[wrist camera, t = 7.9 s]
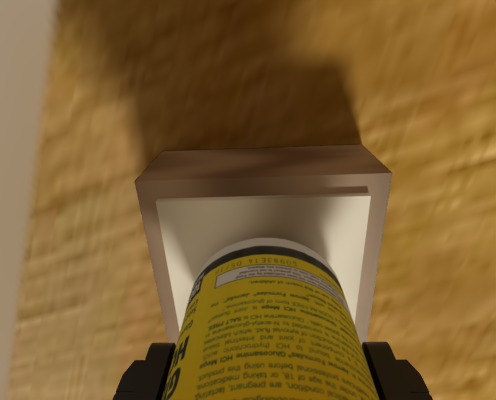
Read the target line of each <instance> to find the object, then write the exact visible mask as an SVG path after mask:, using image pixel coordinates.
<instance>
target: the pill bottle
mask: <svg viewBox="0 0 496 400" xmlns="http://www.w3.org/2000/svg"><path fill="white" fill-rule="evenodd" d="M161 400H379V397H378V394H377V391H376V388H375V385H374V382H373V379H372V377H371V374H370V371H369V368H368V364H367V361H366V358H365V355H364V352H363V349H362V346H361V343H360V340H359V337H358V334H357V331H356V328H355V325H354V322H353V319H352V316H351V313H350V310H349V307H348V304H347V301H346V299H345V296H344V293H343V290H342V287H341V285H340V282H339V280H338V277H337V276H336V274H335V272H334V270H333V269H332V267H331V266H330V265H329V264H328V263H327V261H326V260H325V259H324V258H322V257H321V256H320V255H319V254H318V253H316V252H315V251H313V250H311V249H310V248H308V247H306V246H304V245H301V244H299V243H296V242H293V241H289V240H285V239H279V238H254V239H248V240H243V241H240V242H237V243H234V244H232V245H229V246H227V247H225V248H223V249H221V250H220V251H219V252H217V253H216V254H214V255H213V256H212V257H211V258H210V259H209V260H208V261H207V262H206V263H205V265H204V266H203V267H202V268H201V270H200V272H199V273H198V275H197V277H196V280H195V282H194V285H193V288H192V291H191V294H190V297H189V300H188V304H187V308H186V311H185V316H184V320H183V323H182V327H181V331H180V334H179V338H178V342H177V345H176V349H175V353H174V356H173V359H172V363H171V366H170V369H169V373H168V377H167V381H166V385H165V389H164V392H163V396H162V399H161Z"/></svg>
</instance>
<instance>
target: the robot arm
mask: <svg viewBox="0 0 496 400" xmlns="http://www.w3.org/2000/svg"><path fill="white" fill-rule="evenodd" d="M175 349H176V344H175V343H152V344H151V346H150V348H149V350H148V353H147V356H146V359H145V360H135V361H134V362H133V363H132V364H131V366H130V367H129V368H128V369H127V370H126V372H125V373H124V374H123V376H122V378H121V380H120V383H119V385H118V388H117V390H116V394H115V395H114V397H113V400H161V399H162V396H163V392H164V389H165V385H166V381H167V377H168V373H169V369H170V366H171V363H172V359H173V356H174V353H175ZM362 349H363V352H364V355H365V358H366V361H367V364H368V368H369V371H370V374H371V377H372V379H373V382H374V385H375V388H376V391H377V394H378V397H379V400H433V399H432V397H431V396H430V395H429V391H428V389H427V387H426V385H425V383H424V381H423V378H422V376H421V375H420V373H419V372H418V371H417V370H416V369H415V368H414V367H413V366H412V365H411V364H410V363H409V362H408V361H407V360H396V359H395V357H394V354H393V352H392V350H391V348H390V346H389V344H388V343H387V342H363V343H362Z"/></svg>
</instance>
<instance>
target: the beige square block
mask: <svg viewBox="0 0 496 400" xmlns="http://www.w3.org/2000/svg"><path fill="white" fill-rule="evenodd" d="M391 178H392V172H391V171H390V170H389V169H388V168H386V167H385V166H384V165H383V164H382V163H381V162H380V161H379V160H378V159H377V158H376V157H375V156H374V155H373V154H372V153H371V152H370V151H369V150H368V149H366V148H365V147H364V146H363V145H362V144H358V145H330V146H302V147H274V148H245V149H217V150H189V151H162V152H161V153H160V154H159V155H158V156H157V157H156V158H155V159H154V161H153V162H152V163H151V164H150V165H149V166H148V167H147V168H146V169H145V170H144V171H143V172H142V174H141V175H140V176H139V177H138V178H137V179H136V180H135V185H136V190H137V195H138V200H139V204H140V209H141V214H142V219H143V224H144V228H145V233H146V238H147V243H148V248H149V252H150V257H151V262H152V267H153V271H154V276H155V281H156V286H157V291H158V295H159V300H160V305H161V310H162V315H163V319H164V324H165V329H166V334H167V339H168V343H175V344H176V345H177V342H178V338H179V334H180V331H181V327H182V323H183V320H184V316H185V311H186V308H187V304H188V300H189V297H190V294H191V291H192V288H193V285H194V282H195V280H196V277H197V275H198V273H199V272H200V270H201V268H202V267H203V266H204V265H205V263H206V262H207V261H208V260H209V259H210V258H211V257H212V256H213V255H214V254H216V253H217V252H219V251H220V250H221V249H223V248H225V247H227V246H229V245H232V244H234V243H237V242H240V241H243V240H248V239H254V238H279V239H285V240H289V241H293V242H296V243H299V244H301V245H304V246H306V247H308V248H310V249H311V250H313V251H315V252H316V253H318V254H319V255H320V256H321V257H322V258H324V259H325V260H326V261H327V263H328V264H329V265H330V266H331V267H332V269H333V270H334V272H335V274H336V276H337V277H338V280H339V282H340V285H341V287H342V290H343V293H344V296H345V299H346V301H347V304H348V307H349V310H350V313H351V316H352V319H353V322H354V325H355V328H356V331H357V334H358V337H359V340H360V343H361V346H362V343H363V342H366V341H367V334H368V328H369V321H370V315H371V308H372V302H373V295H374V289H375V282H376V276H377V269H378V263H379V256H380V250H381V243H382V237H383V230H384V224H385V217H386V211H387V204H388V198H389V191H390V184H391Z"/></svg>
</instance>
